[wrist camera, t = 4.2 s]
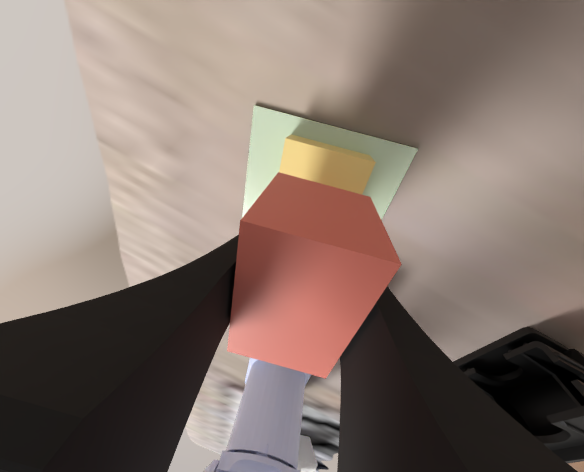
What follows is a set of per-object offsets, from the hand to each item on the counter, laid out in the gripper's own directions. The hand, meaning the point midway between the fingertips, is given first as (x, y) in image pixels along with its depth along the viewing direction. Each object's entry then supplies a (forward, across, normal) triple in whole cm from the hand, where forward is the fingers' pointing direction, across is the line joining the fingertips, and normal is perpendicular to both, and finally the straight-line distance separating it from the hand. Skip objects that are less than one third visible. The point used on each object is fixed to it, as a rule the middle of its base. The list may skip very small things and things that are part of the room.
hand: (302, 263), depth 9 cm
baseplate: (+7, 0, 0) cm, 7 cm away
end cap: (+7, -23, +11) cm, 27 cm away
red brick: (+2, 0, 0) cm, 2 cm away
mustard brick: (+7, 0, 0) cm, 7 cm away
